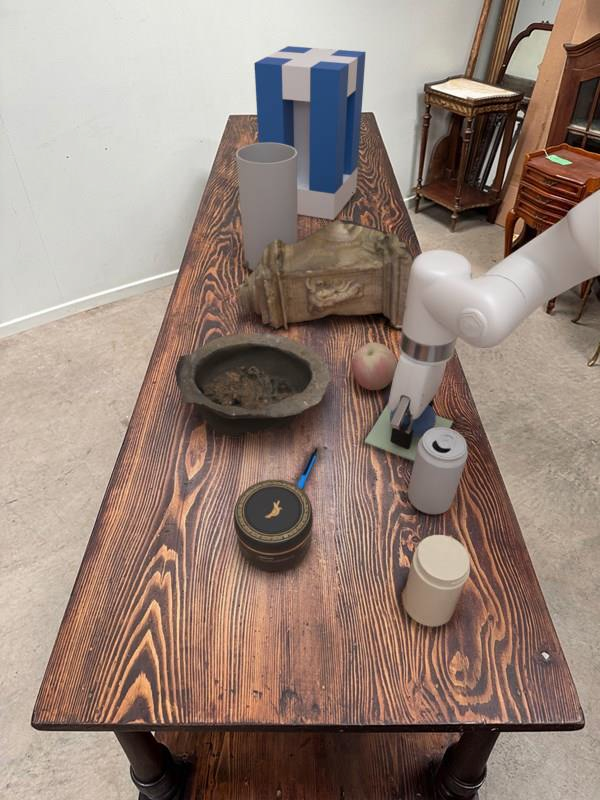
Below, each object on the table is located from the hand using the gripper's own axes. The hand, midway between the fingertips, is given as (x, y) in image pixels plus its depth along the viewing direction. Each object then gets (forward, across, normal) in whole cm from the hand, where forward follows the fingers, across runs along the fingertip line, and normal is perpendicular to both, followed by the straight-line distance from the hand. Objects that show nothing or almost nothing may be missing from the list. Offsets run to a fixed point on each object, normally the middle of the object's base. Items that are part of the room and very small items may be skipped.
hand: (410, 429), depth 86 cm
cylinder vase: (+1, -33, -51) cm, 61 cm away
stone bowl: (+1, +8, -25) cm, 26 cm away
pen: (+1, +21, -8) cm, 22 cm away
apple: (+1, -7, -11) cm, 13 cm away
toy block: (+1, -69, -63) cm, 94 cm away
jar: (+1, +28, -6) cm, 29 cm away
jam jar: (+1, +25, +14) cm, 29 cm away
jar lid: (-3, 0, 0) cm, 3 cm away
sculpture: (+1, -23, -30) cm, 38 cm away
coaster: (+1, 0, 0) cm, 1 cm away
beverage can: (+1, +10, +8) cm, 13 cm away
